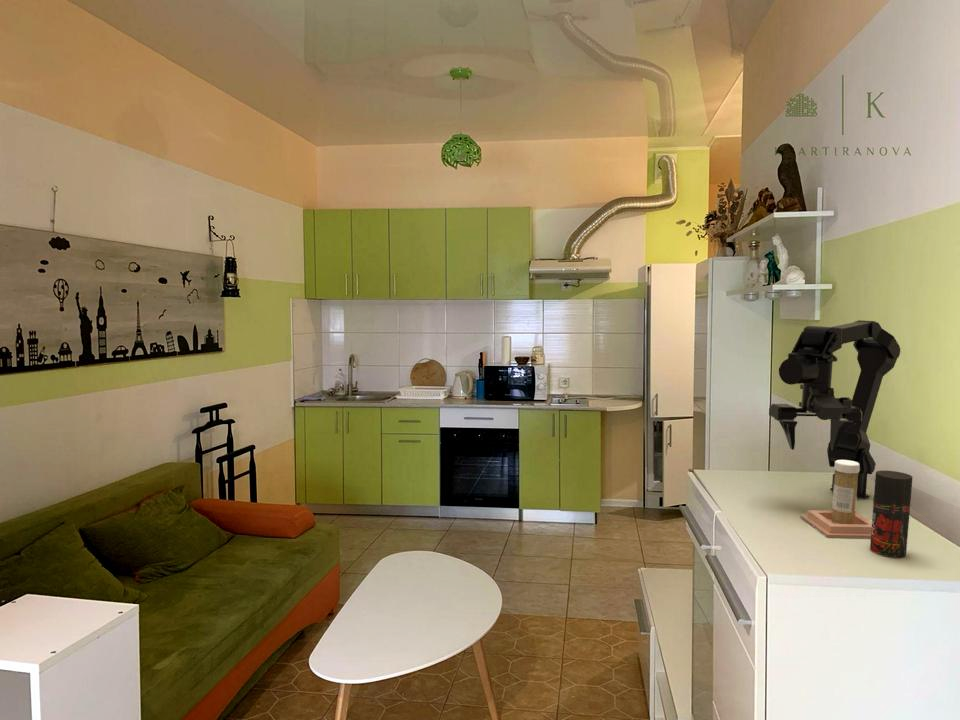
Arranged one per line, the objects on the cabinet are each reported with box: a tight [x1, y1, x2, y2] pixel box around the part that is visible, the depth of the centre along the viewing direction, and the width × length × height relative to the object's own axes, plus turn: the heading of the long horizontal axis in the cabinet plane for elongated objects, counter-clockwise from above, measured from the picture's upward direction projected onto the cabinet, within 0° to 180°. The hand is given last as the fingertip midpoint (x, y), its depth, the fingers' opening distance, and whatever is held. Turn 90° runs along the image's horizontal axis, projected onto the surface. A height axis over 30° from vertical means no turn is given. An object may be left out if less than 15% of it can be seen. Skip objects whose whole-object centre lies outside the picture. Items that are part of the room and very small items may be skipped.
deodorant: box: [869, 470, 914, 559], centre depth 130 cm, size 6×6×15 cm
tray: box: [799, 509, 872, 539], centre depth 143 cm, size 12×12×2 cm
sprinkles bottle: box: [831, 460, 860, 524], centre depth 143 cm, size 5×5×13 cm
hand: (812, 449), depth 157 cm, fingers open, 9 cm apart
